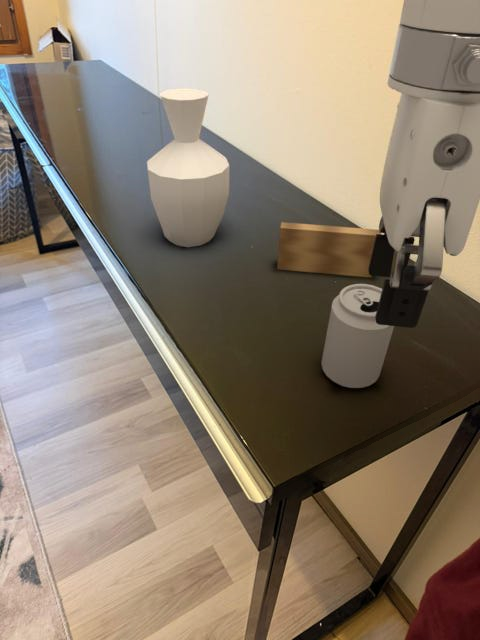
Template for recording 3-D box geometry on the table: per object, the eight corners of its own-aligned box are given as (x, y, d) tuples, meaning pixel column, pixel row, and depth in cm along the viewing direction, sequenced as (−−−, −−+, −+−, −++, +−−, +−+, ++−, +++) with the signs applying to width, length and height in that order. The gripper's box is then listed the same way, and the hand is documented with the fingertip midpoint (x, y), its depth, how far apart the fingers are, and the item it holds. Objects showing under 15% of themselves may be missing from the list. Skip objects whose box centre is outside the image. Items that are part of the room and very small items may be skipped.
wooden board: (370, 271, 78) (380, 229, 73) (371, 277, 77) (381, 235, 72) (278, 263, 80) (281, 221, 75) (277, 269, 78) (280, 227, 73)
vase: (168, 262, 80) (153, 110, 64) (145, 227, 90) (127, 87, 74) (241, 246, 84) (244, 100, 69) (212, 214, 94) (209, 80, 79)
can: (344, 400, 56) (362, 325, 48) (309, 362, 61) (320, 288, 53) (390, 380, 58) (415, 306, 51) (353, 345, 63) (370, 273, 56)
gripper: (581, 101, 21) (457, 374, 32) (480, 43, 34) (418, 251, 46) (414, 93, 22) (350, 363, 33) (379, 39, 35) (342, 244, 46)
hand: (390, 296), depth 39 cm, fingers open, 6 cm apart
